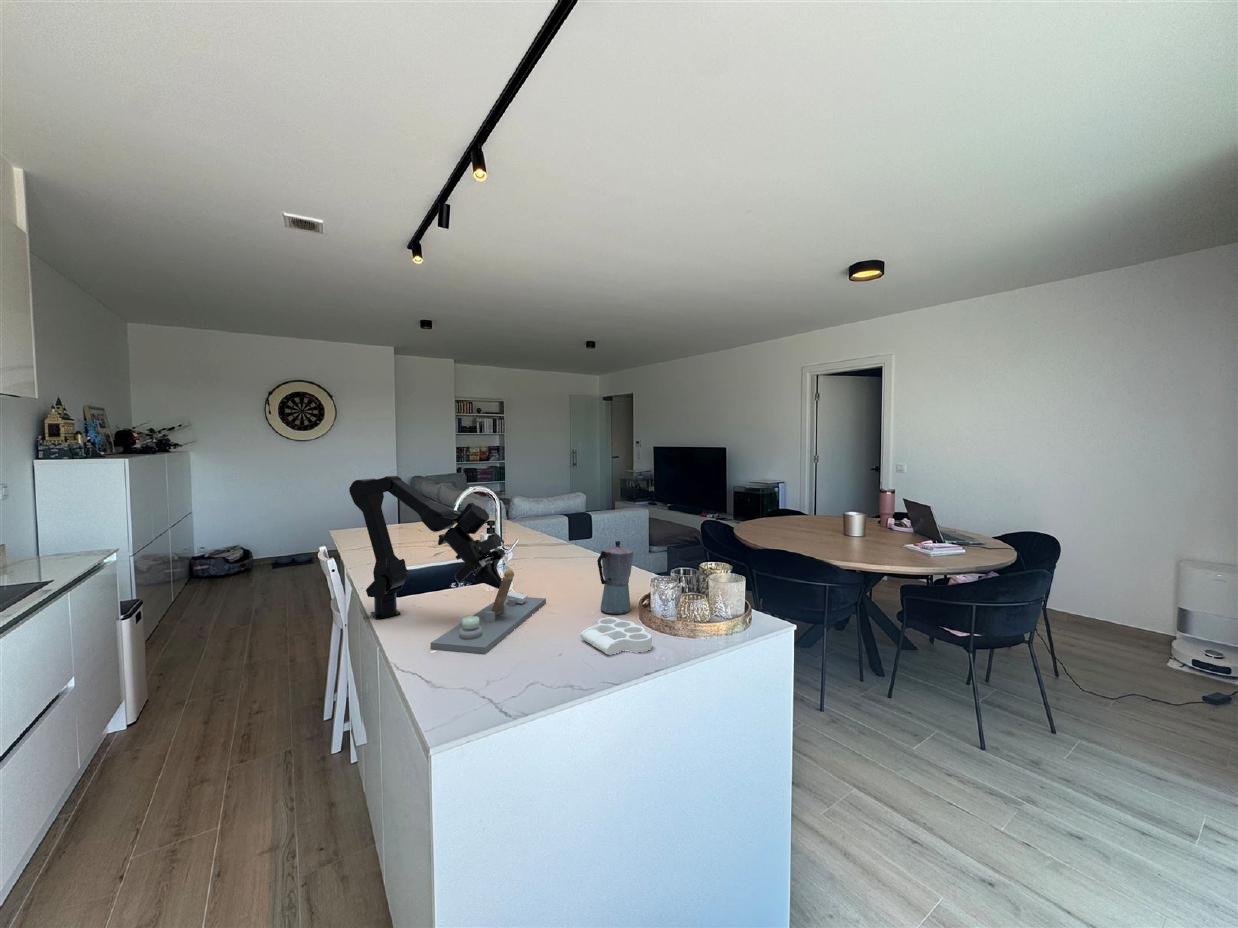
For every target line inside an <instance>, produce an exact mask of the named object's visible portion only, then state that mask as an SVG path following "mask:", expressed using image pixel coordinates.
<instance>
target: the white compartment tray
mask: <svg viewBox="0 0 1238 928" xmlns="http://www.w3.org/2000/svg"><path fill="white" fill-rule="evenodd" d="M579 637H580V639H581V640H583V641H585V642H587V643H588V644H590V645H591V646H593V647H594V648H596V649H598V650H599V651H602V652H603V653H604V654H606V655H608V656H611V655H612V654H614V653H617V652H620V653H622V652H621V651H623V650H624V651H625V650H629V651H632V652H645V651H648V650H650V649H651V648H653V643H652V642H653V636H652V634H651V633H649V632H647V631H646V629H645V628H644V627H643V626H641V625H638V624H636V623H635V622H633V621H629V620H623V619H619V618H617V617H613V616H611V617H602V618H600V619H599V620H598V621H597V624H596V625H593V626H590V627H588V628H585V629H584V630H583V631H582V632H580V635H579ZM651 650H652V649H651ZM651 650H650V651H651ZM632 652H631V653H632ZM648 652H649V651H648ZM645 653H646V652H645ZM612 656H613V655H612Z"/></svg>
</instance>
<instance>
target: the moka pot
mask: <svg viewBox="0 0 1238 928" xmlns="http://www.w3.org/2000/svg"><path fill="white" fill-rule="evenodd" d="M634 554H635V553H634V550H632V548H629V547H622V546H621V541H619V540H618V541H617V540H616V541H615V546H613V547H607V548H603V549H601V551H600V555H599V557H598V558H597V560H596V561H597V567H598V572H599V573H598V574H599V577H600V578H599V579H600V583H601V585H603V591H602V597H601V602H600V611H602V612H604V613H606V614H613V615H617V614H618V615H619V614H621V615H622V614H627V613H629V612H631V611H632V610H631V609H632V607H631V599H630V587H629V586H630V585H629V582H630V577H631V572H632V567H633V566H632V565H633V560H634Z"/></svg>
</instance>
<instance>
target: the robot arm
mask: <svg viewBox="0 0 1238 928" xmlns="http://www.w3.org/2000/svg"><path fill="white" fill-rule="evenodd" d="M348 491H349V495H350V497H351V499H352V501H353V503H354V505H355V506H356V507H357V508H358V509H359V510H360V511H361V513H362V515H363V517H364V522H365V525H366V529H367V533H368V536H369V540H370V544H371V546H372V547H371V548H372V551H373V554H374V558H375V559H374V560H375V564H374V568H373V570H372V571H373V572H372V573H373V574H372V575H373V581H372V582H371V583H370V585H369V586H367V588H366V589H365V592H366V594H367V597H368V598H373V601H374V602H373V605H374V611H371V612H370V615H371V614H372V615H371V616H372V617H373V618H374V619H375V620H382V619H385V618H391V617H396V616H401V611H399V610H398V609H397V608H398V607H397V606H398V605H397V592H398V591H400V590H403V587H404V585H405V583H406V581H407V580H408V573H409V570H408V569H407V565H406V561H405V559H404V558H401V559H399V558H398V557H397V556H396V555H395V551H394V548H393V545H392V541H391V538H390V537H391V536H390V534H389V530H388V526H387V524H386V523H387V522H386V520H385V516H384V512H383V509H382V505H383V502H384V498H385V493H389V494H390V495H392V496H393V497H395V498H397V499H398V501H400V502H401V503H403V504H404V505H405V506H406V507H408V508H409V509H411V510H412V511H414V513H416V514H417V515H418V516H419V517H420V520H421V523H423V524H424V525H425V526H426V528H427V529H429V531H432V532H433V533H436V532H437V533H438V532H441V531H445V530H446V531H445V532H444V533H442V534H439V535H438V543H437V545H438V546H442V545H445V544H447V545H448V546H449V547H450V548H451V550H453V551H454V553H455V554H456V556H455V559H456V560H457V561H458V560H461V561H463V564H462V565H461V567H460V568H459V569H457V571H456V572H455V573H454V579H455V580H456V582H457V583H458V584H459V585H460V584H462V583H464V582H466V581H467V577H469V576H470V574H472V573H473V574H472V575H474V576H473V577H472V578H471V580H472V581H476V582H479V583H482V584H486V585H487V586H490V587H492V588H495V589H498V590H499V587H500V584H501V582H502V578H501V575H500V573H499V570H498V568H497V567H498V563H499V562H500V561H501V560H502V558H504V557H505V555H506V554H507V553H506V551H504V549H502V548H500V547H502V546H503V543H502V541H503V537H501V536H500V534H497V533H496V532H494V533H492V534H489V535H488V538H487V539H484V540H483V541H481V540H480V539H476V540H475V539H474V538H473V537H472V536H471V535H470V534H472V535H475V534H477V533H478V532H479V531H480V529H481V528H483V526H484V525H485V524H486V523H487V522H488V521H489V519H490V515H489V513H488V512H487V511H486V509H484V508H483V507H481V506H479V505H477V504H475V503H474V502H469V503H468V504H466V506H465V507H464V509H463V510H462V511H461V512H460V513H458V512H455V511H454V510H453V509H451V508H449V507H447V506H444V505H443V504H439V503H436V502H433V501H432V500H430V499H428V498H427V497H426V496H425V495H423V494H422V493H421V492H419V491H417V490H416V489H414V488H413V487H412V486H410V485H409V484H408V483H407V482H405V481H404V480H403V479H402V478H401V477H400V476H398V475H387V476H384V477H381V478H366V479H364V478H363V479H356V480H354V481H353V482H352V483H351V485H350V486H349V488H348ZM454 525H455V526H454Z"/></svg>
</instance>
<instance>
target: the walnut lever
mask: <svg viewBox="0 0 1238 928" xmlns="http://www.w3.org/2000/svg"><path fill="white" fill-rule="evenodd" d="M514 577H515V573H514V570H512V569H507V570H505V571H504V575H503V577H502V578H501V580H502V582H501V584H500V587H499V589H498V591H497V594H496V596H495V600H494V601H493V602H494V604H493V607H492V610H491V611H492V612H495V617H496V616H498V615H499V614H500V613H502V608H503V605H504V602H505V600H506V597H507V594H508V592H510V588H511V585H512V582H513V579H514Z"/></svg>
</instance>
